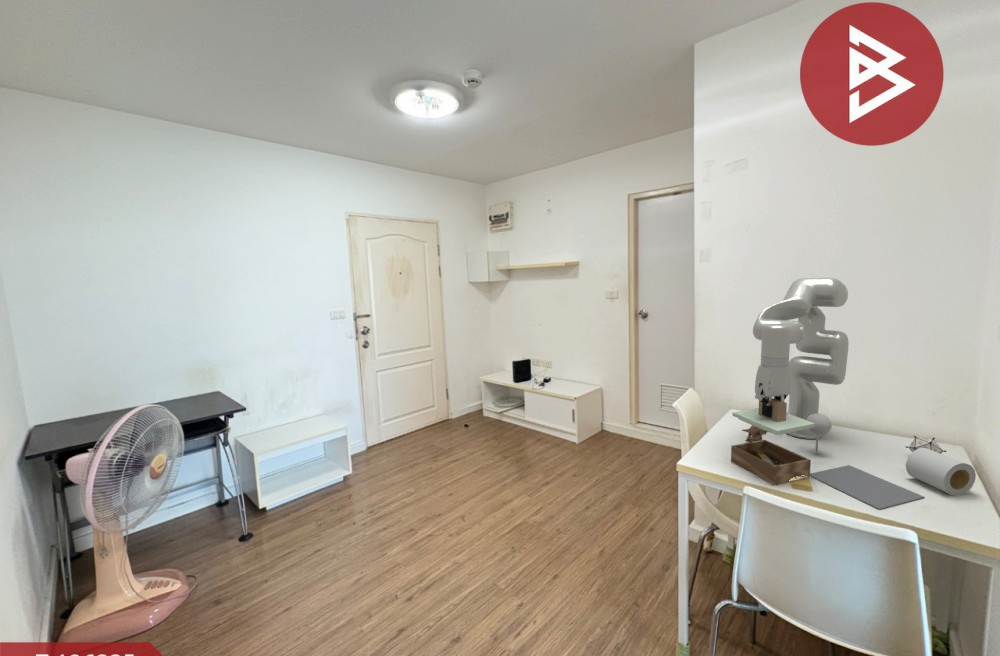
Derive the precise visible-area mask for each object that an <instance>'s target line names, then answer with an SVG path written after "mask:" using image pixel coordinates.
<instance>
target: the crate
mask: <svg viewBox="0 0 1000 656" xmlns="http://www.w3.org/2000/svg"><path fill="white" fill-rule="evenodd" d="M730 448H731V449H730V450H731V451H730V452H731V453H730V462H731V463H732V464H734V465H736V466H738V467H739V468H740V469H741V468H742V469H744V470H745V471H747V472H749V473H751V474H752V475H754V476H755V477H758V478H760V479H761V480H763V481H765V482H766V483H769V484H771V485H772V486H777V485H783V484H787V483H790V482H789V480H790V479H791V478H793V477H796V476H801V475H805V476H807V477H808V478H811V477H810V473H811V468H812V467H811V466H812V465H811V463H812V459H809V458H808V457H805V456H803V455H801V454H799V453H796V452H794V451H792V450H789V449H788V448H785V447H782V446H780V445H778V444H775V443H773V442H772V441H769V440H767V439H762V440H760V441H756V440H754V441H752V442H745V443H744V442H743V443H739V444H732V445H731V447H730ZM756 451H760V452H765V454H766V455H767V456H768V457H769V459H770V460H771V461H772V462H774V463H777V465H775V466H773V465H771V464H769V463H767V462H765V461H763V460H761V459H759V458H757V457H756ZM808 478H807V479H808Z"/></svg>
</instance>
